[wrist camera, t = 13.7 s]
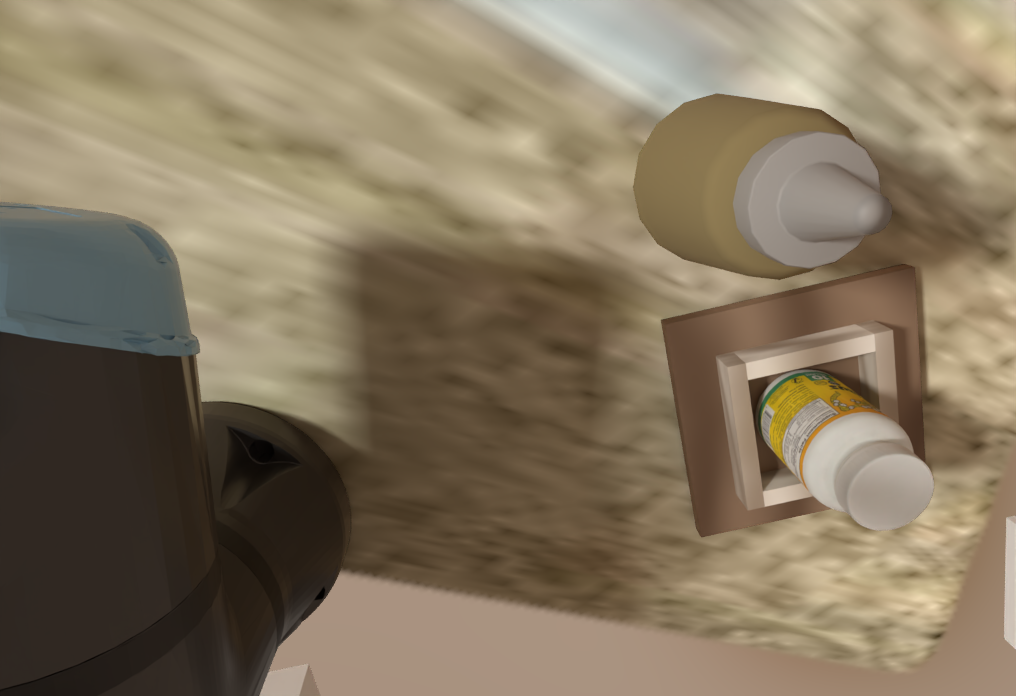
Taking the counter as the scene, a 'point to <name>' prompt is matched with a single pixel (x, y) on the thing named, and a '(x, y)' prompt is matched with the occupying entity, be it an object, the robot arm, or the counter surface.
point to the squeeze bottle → (757, 187)
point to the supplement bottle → (844, 449)
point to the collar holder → (766, 356)
